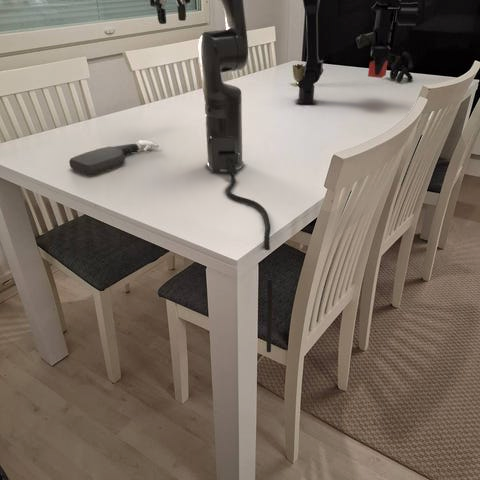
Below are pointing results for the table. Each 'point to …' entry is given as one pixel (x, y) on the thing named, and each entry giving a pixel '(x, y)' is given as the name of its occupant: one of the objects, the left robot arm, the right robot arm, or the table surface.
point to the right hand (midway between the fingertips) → (376, 72)
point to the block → (372, 70)
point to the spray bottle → (106, 157)
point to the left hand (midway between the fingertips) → (172, 22)
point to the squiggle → (400, 66)
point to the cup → (298, 72)
